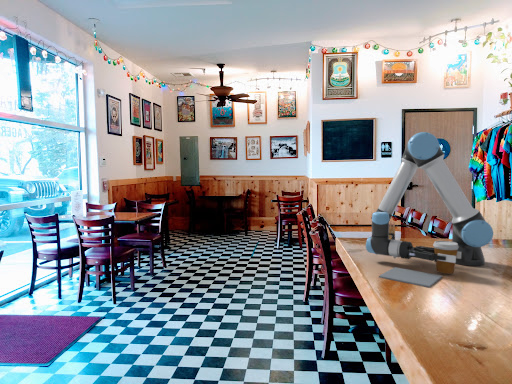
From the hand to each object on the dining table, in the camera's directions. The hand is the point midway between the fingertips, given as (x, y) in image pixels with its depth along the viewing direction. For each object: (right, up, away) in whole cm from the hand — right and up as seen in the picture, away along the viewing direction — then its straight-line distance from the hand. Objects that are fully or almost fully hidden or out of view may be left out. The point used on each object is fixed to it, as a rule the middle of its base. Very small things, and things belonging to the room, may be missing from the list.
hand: (458, 257), depth 149 cm
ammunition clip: (-5, -3, +71) cm, 71 cm away
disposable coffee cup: (-4, -7, +3) cm, 8 cm away
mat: (-20, -8, -1) cm, 21 cm away
